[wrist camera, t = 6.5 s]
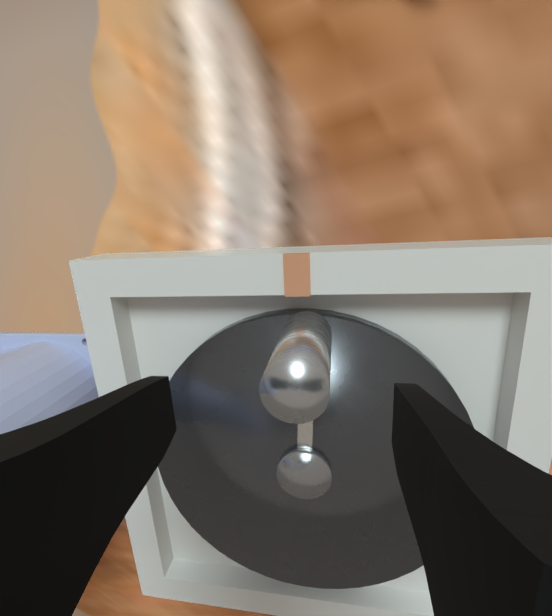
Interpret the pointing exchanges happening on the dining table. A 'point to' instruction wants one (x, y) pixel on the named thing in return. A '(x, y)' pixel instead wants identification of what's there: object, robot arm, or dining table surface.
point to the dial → (298, 446)
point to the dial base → (341, 298)
